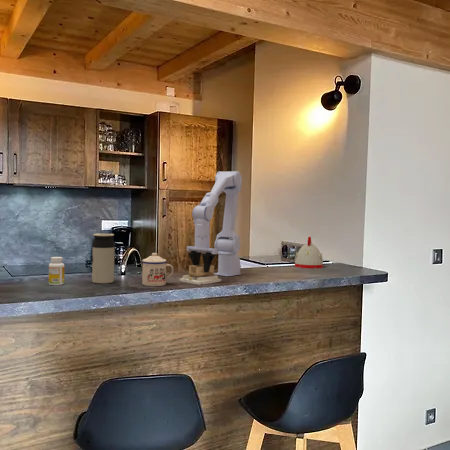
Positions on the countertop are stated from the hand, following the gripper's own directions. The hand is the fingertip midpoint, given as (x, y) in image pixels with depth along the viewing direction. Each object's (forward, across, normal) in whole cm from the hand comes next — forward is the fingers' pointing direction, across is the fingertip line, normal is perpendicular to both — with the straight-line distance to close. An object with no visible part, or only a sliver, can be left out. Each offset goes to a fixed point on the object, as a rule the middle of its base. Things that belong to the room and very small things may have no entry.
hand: (201, 271), depth 192 cm
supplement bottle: (+4, -30, -44) cm, 54 cm away
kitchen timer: (+4, +4, +74) cm, 75 cm away
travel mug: (+4, -22, -30) cm, 37 cm away
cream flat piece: (+4, 0, 0) cm, 4 cm away
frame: (+2, 0, 0) cm, 2 cm away
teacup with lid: (+4, -6, -18) cm, 19 cm away
